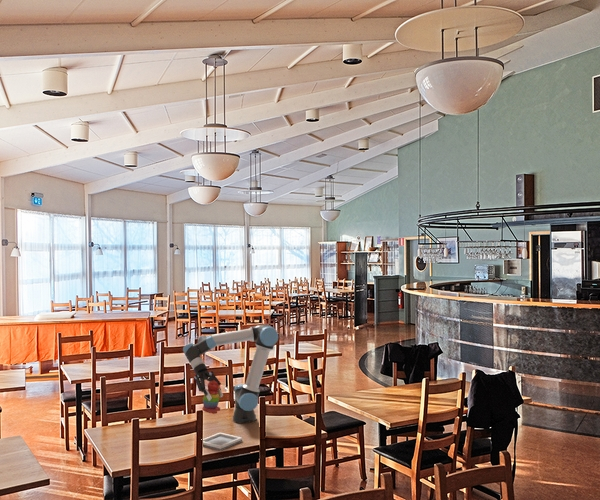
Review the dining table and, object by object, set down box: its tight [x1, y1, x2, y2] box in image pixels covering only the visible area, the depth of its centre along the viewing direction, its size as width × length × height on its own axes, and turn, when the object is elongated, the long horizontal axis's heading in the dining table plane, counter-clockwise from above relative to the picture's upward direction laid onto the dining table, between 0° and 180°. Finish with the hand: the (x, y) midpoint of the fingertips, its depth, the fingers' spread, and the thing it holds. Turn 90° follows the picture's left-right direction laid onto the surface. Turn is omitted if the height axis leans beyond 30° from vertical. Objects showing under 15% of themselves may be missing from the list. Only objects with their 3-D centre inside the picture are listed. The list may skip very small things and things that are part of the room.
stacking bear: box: [201, 380, 221, 415], centre depth 349 cm, size 11×10×18 cm
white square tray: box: [202, 432, 243, 451], centre depth 339 cm, size 18×18×2 cm
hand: (216, 397), depth 346 cm, fingers closed on stacking bear, 8 cm apart
